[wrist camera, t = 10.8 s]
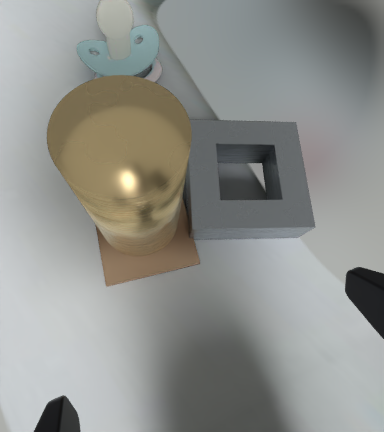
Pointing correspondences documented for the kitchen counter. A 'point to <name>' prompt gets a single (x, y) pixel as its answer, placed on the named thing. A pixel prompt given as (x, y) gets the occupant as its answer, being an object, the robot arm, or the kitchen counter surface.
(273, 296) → the kitchen counter surface
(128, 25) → the pacifier
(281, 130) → the housing
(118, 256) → the mat
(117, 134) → the gold metal cylinder
